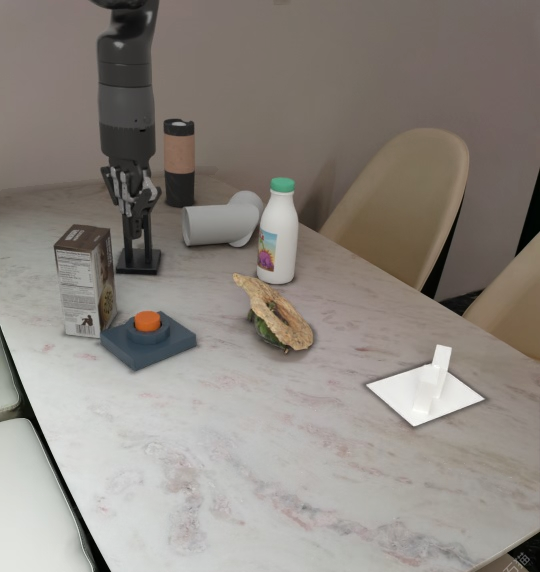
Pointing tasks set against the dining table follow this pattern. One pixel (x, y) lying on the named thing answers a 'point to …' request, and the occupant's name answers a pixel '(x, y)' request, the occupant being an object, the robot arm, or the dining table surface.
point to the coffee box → (86, 280)
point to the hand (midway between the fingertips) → (133, 237)
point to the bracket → (139, 254)
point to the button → (147, 321)
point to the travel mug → (179, 162)
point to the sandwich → (274, 315)
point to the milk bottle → (278, 234)
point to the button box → (147, 342)
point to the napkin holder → (426, 390)
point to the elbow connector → (223, 221)
